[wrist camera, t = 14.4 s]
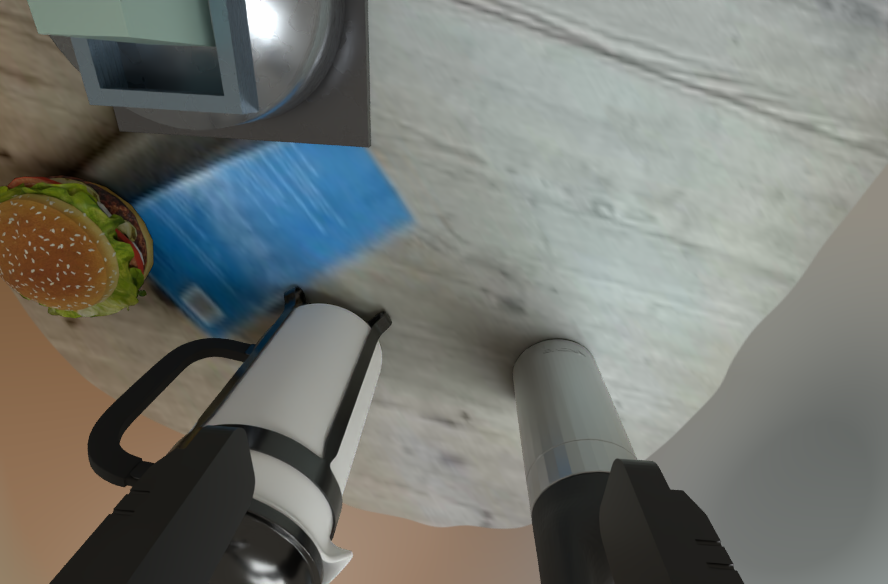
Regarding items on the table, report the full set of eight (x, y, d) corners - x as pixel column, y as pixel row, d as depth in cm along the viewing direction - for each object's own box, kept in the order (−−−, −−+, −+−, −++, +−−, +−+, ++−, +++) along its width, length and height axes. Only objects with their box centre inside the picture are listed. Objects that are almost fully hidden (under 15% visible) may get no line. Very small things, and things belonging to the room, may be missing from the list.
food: (50, 289, 47) (-25, 328, 40) (12, 158, 41) (-85, 175, 34) (176, 310, 47) (124, 352, 40) (158, 183, 41) (93, 206, 34)
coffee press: (354, 249, 43) (156, 541, 16) (422, 371, 49) (362, 729, 22) (215, 306, 47) (-130, 619, 20) (295, 413, 53) (113, 759, 26)
